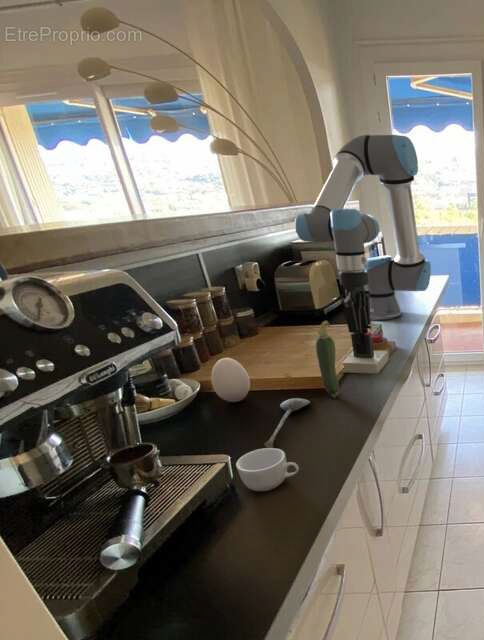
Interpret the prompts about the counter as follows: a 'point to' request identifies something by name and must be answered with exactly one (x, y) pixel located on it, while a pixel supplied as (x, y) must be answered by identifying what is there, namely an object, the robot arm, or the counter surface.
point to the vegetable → (327, 360)
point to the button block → (385, 346)
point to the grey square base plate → (365, 363)
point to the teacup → (264, 469)
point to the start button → (377, 338)
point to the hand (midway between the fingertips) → (363, 351)
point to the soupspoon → (286, 415)
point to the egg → (230, 380)
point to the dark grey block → (367, 343)
